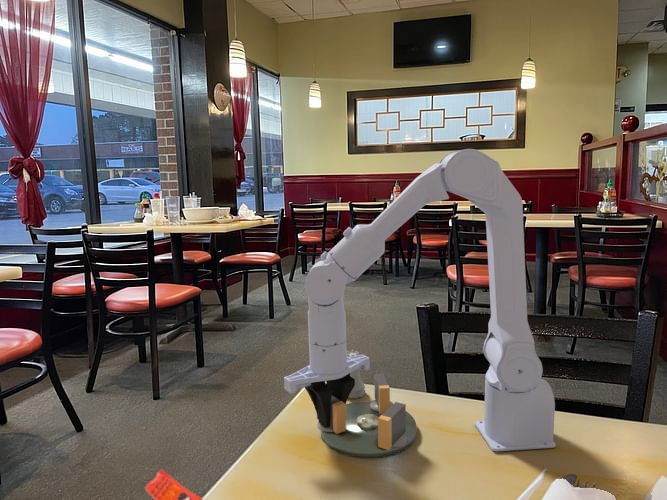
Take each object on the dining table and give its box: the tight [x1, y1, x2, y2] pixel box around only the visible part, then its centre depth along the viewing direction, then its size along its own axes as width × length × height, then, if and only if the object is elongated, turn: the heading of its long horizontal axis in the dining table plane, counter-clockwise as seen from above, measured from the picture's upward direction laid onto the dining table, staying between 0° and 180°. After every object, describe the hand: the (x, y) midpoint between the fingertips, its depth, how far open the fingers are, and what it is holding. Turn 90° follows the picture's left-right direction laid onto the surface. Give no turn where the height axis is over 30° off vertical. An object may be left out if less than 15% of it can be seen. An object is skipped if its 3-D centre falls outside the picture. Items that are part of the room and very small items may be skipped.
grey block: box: [370, 373, 394, 414], centre depth 83 cm, size 6×4×5 cm
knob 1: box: [316, 395, 346, 434], centre depth 77 cm, size 6×4×5 cm
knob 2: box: [378, 401, 407, 450], centre depth 73 cm, size 6×4×5 cm
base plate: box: [320, 401, 417, 460], centre depth 78 cm, size 15×15×2 cm
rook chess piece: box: [347, 349, 366, 400], centre depth 91 cm, size 4×4×8 cm
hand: (330, 422), depth 78 cm, fingers closed on knob 1, 2 cm apart
